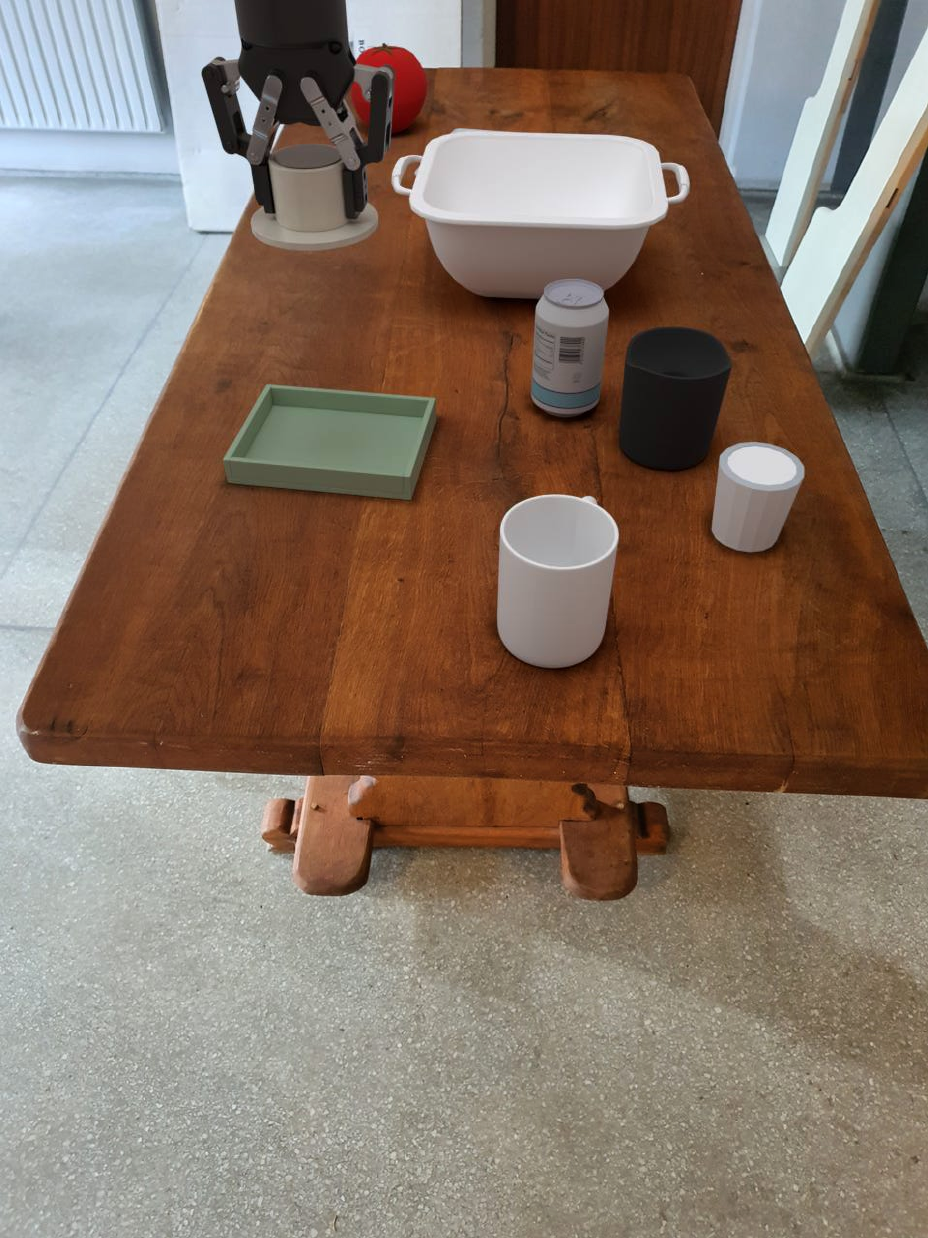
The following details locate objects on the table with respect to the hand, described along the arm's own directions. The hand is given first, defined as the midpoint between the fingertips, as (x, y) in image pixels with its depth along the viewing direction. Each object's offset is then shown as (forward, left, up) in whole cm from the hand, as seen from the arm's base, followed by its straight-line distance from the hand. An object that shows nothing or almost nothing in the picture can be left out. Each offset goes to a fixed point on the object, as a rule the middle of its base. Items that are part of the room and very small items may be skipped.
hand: (313, 211), depth 74 cm
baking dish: (+14, +41, -23) cm, 49 cm away
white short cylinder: (+37, -6, -23) cm, 44 cm away
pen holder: (+30, +6, -23) cm, 39 cm away
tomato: (-15, +92, -23) cm, 96 cm away
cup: (+22, -19, -23) cm, 37 cm away
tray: (-1, 0, -23) cm, 23 cm away
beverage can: (+20, +12, -23) cm, 33 cm away
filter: (0, 0, -1) cm, 1 cm away
